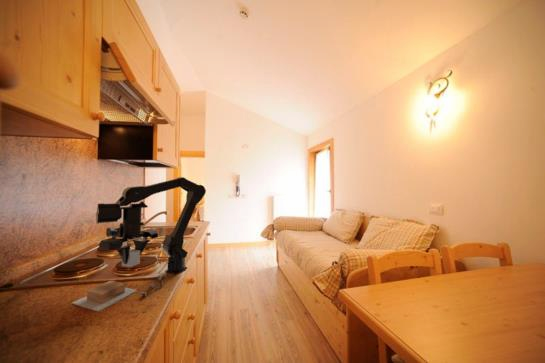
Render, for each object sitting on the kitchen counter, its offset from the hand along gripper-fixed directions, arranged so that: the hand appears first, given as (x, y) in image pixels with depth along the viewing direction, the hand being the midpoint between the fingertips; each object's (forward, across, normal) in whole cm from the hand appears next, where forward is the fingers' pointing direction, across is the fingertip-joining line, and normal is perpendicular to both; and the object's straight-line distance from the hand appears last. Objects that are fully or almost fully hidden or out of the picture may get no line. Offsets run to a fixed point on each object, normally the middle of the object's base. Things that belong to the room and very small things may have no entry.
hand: (131, 261), depth 75 cm
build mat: (+8, +9, +1) cm, 12 cm away
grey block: (+1, 0, 0) cm, 1 cm away
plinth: (+8, +9, +1) cm, 12 cm away
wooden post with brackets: (+9, +1, +12) cm, 15 cm away
